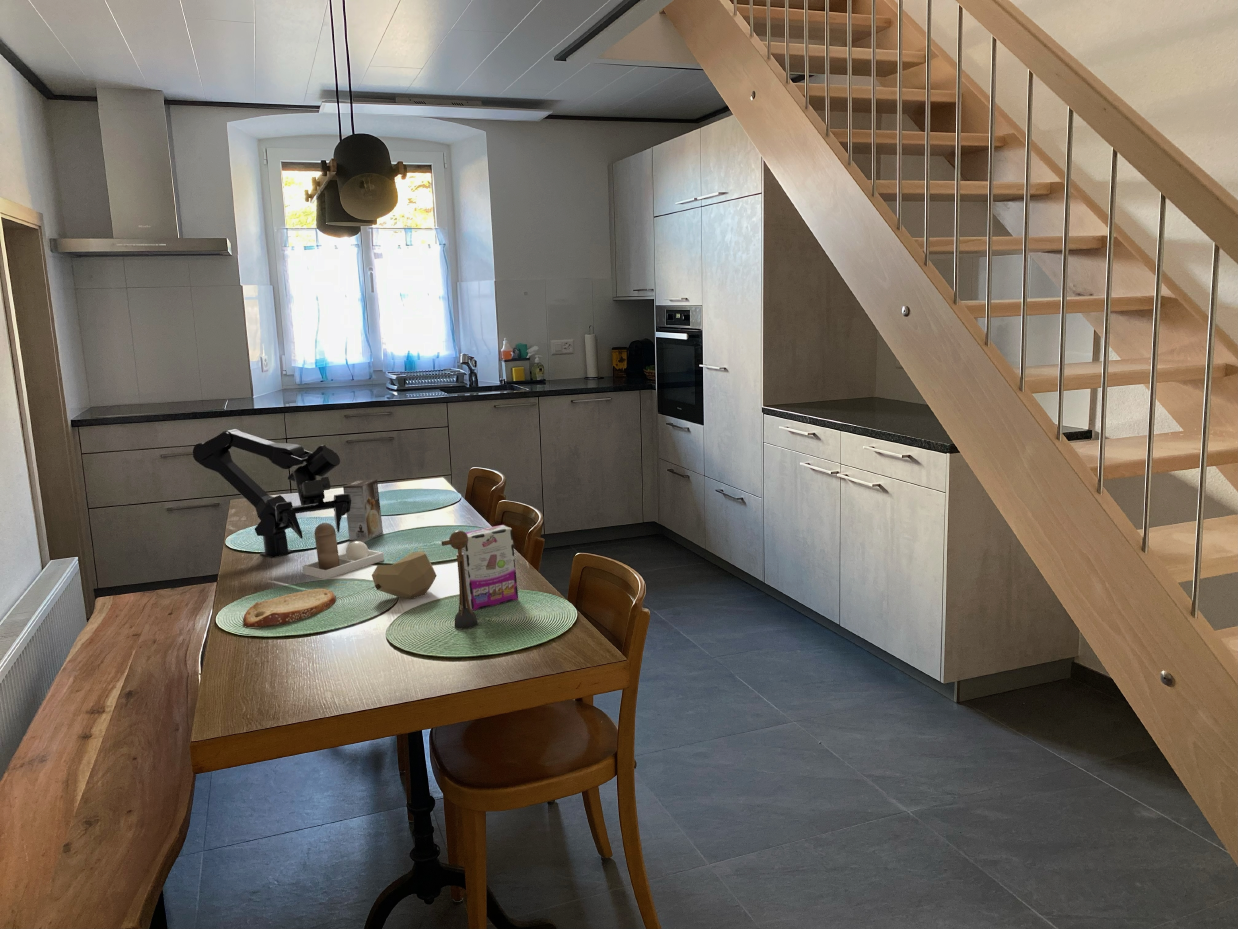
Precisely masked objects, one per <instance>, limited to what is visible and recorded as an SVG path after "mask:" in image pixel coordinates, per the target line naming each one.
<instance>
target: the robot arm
mask: <svg viewBox="0 0 1238 929" xmlns="http://www.w3.org/2000/svg"><path fill="white" fill-rule="evenodd" d="M232 448H237V449H238V450H239V449H240V450H242V451H245V452H248V453H251V454H255V455H257V456H261V457H263V458H266V459H267V460H269V461H270V462H271V463H272V464H273V465H275V466H277V467H278V468H281V469H283V470H290V469H292V468H294V467H296V468H295V469H294V470H291V473H289V475H288V477H287V480H288V481H292V482H293V483H294V482H295V487H296V490H297V494H298V498H299V503H300V504H299V505H293V502H292V501H291V500H289V501H287V500H286V499H285V497H283V496H282V495H281V494H279V495H278V494H277V495H276V496H272V495H270V494H268V493H267V492H266V491H265V489H263V488H262V487H261V486H260V485H259V484H258V483H257V482H256V481H255V480H254V479H252V477H251V476H249V475H248V474H247V473H246V472H245V471H244V470H243V469H242V468H241V467H239V466H238V465H237V464H236V463H235V461H233V459H232V458H233V457H232V455H231V452H230V450H231V449H232ZM192 458H193V460H194V461H195V462H196V463H197V464H199V465H201V466H202V467H203V468H205V469H207V470H210V471H212V472H215V473H217V474H219V475H220V476H221V477H222V478H223V479H224V480H225V481H226V482H227V483H228V484H229V485H230V486H231V487H233V488H234V489H235V490H236V491H237V492H238V494H240V495H241V496H242V497H243V498H244V499H246V501H247V502H248V503H250V504H251V505H252V506H253V507H254V508H255V511H256V516H257V518H258V519H259V520H260V521H259V522H258V524H256V526H255V528H254V531H255V534H256V535H257V537H262V540H263V541H262V542H263V548H264V551H263V552H262V551H261V552H260V553H259V555H260V556H263V557H269V558H272V559H273V558H274V559H275V558H277V557H281V556H283V555H288V554H291V553H293V552H294V550H293V549H289V545H288V538H287V532H286V530H288V529H291V530H292V531H294V533H296V535H297V536H298V537H299V538H300V540H302V539H304V538H303V531H302V529H301V526H300V523H299V521H298V518H297V514H302V513H311V512H319V511H325V510H331V509H333V512H334V513H333V517H334V524H335V530H336V532H337V533H340V528H341V521H342V517H344V516H347V515H346V513H348V512H349V511H350V507H351V497H350V495H349V494H347V493H345V494H344V493H339V494H334V495H333V500H329V501H324V499H325V498H326V497H325V491H330V489H331V485H332V484H331V481H330V478H329V476H327V475H328V474H329V473H330V472H331V471H333V470H334V469H335V468H336V467H338V466H339V465H340V464H341V459H340V456H339V455H338V453H337V452H335V451H334V450H333V449H331V448H329V447H327V445H326V444H321V445H319V446H318V447H317V448H316V449H315V450H314V451H309V450H307V449H304V447H303V446H302V445H301V444H296V443H287V442H286V443H285V442H274V441H271V440H267V439H265V438H263V437H262V438H261V437H259V436H256V435H253V434H249V433H247V432H244V431H241V430H239V429H237V428H232V429H228V430H224V431H222V432H221V433H219V434H217V435H216V436H215V437H212V438H211V439H208V440H206V441H203V442H199V443H197V444H195V445H194V446H193V448H192ZM318 477H321V478H320V479H318Z"/></svg>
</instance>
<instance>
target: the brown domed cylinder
mask: <svg viewBox="0 0 1238 929" xmlns="http://www.w3.org/2000/svg"><path fill="white" fill-rule="evenodd" d="M336 532H337V531H336V527H334V526H333V525H332V524H331V523H328V522H322V523H319V524H318V525H316V527H315V528H314V540H315V546H316V555H317V562H318V564H319V569H322V570H328V569H331V568H334V567H337V566H340V563H339V555H340V554H339V548H338V547H339V546H338V540H337V533H336Z"/></svg>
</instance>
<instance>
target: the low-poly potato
mask: <svg viewBox="0 0 1238 929" xmlns="http://www.w3.org/2000/svg"><path fill="white" fill-rule="evenodd" d="M371 577H372V580H373V583H374V587H375V589H376V591H379V592H383V593H385V594H389V595H391V596H394V597H397V598H401V599H409V600H413V599H416V598H420V597H424V596H425V595H426V594H427V592H429V589H431V587H432V585H433V584H434V581H435V580H436V578H437V574H436V571H435V569H434V567H433V564H432V563H431V560H430V559H429V557H428V556H427V554H426V552H424V550H420V551H414V552H412V553H410V554H408V555H406V556H404V557H403V558H401V559H400V560H398V561H396V562H394V563H392V564H379V565H376V568H375V569H374V570H373V573H372V574H371Z"/></svg>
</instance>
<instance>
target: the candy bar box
mask: <svg viewBox="0 0 1238 929" xmlns="http://www.w3.org/2000/svg"><path fill="white" fill-rule="evenodd" d="M464 532H465V531H464ZM465 533H466V534H467V535H468V544H467V545H466V547H465V548H462V553H464V555H463V556H464V567H465V578H466V586H467V593H468V599H469V604H470V607H471V610H472V611H478V610H480V609H481V610H482V609H484V608H485V609H486V608H488V607H489V608H490V607H493V606H497V605H501V604H505V603H510V602H514V601H516V600H519V592H518V590H519V589H518V580H517V579H518V578H517V572H516V571H517V570H516V560H515V559H516V558H515V548H514V538H513V529H512V528H511V527H509V526H507V525H505V524H500V525H495V526H490V527H485V528H480V529H476V530H471V531H466V532H465ZM466 606H467V603H466Z"/></svg>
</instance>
